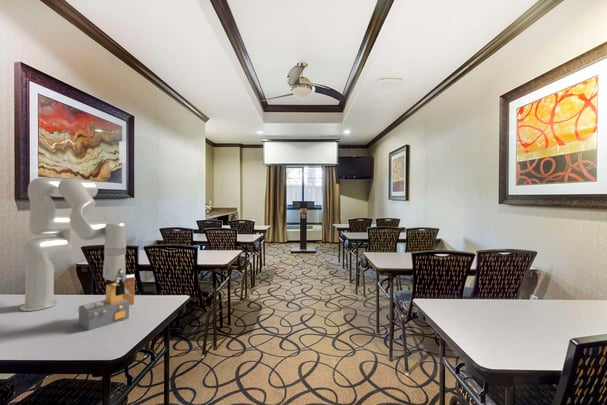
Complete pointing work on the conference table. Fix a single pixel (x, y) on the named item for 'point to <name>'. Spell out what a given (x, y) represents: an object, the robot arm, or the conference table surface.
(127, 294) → the small box
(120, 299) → the cap
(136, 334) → the conference table surface
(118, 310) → the box
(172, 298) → the conference table surface
